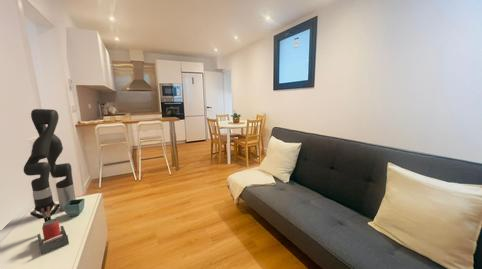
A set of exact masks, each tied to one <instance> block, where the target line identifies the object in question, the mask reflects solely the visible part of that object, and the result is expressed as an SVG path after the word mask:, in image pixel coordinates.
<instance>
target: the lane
mask: <svg viewBox="0 0 482 269" xmlns="http://www.w3.org/2000/svg"><path fill="white" fill-rule="evenodd" d="M59 227H60V233H61V235H62V234H63V237H61V238H58V239H56V240H53V241H50V242H48V243H45V244H43V241H42V236H41V233H38V234H37V242H38V247H39V254H40V256H43V255H46V254H48V253H51V252H53V251H55V250H58V249H61V248H63V247H66V246H68V245H70V243H69V242H70V241H69V236H68V234H67V233H66V229H65V227H64V225H59Z"/></svg>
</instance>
